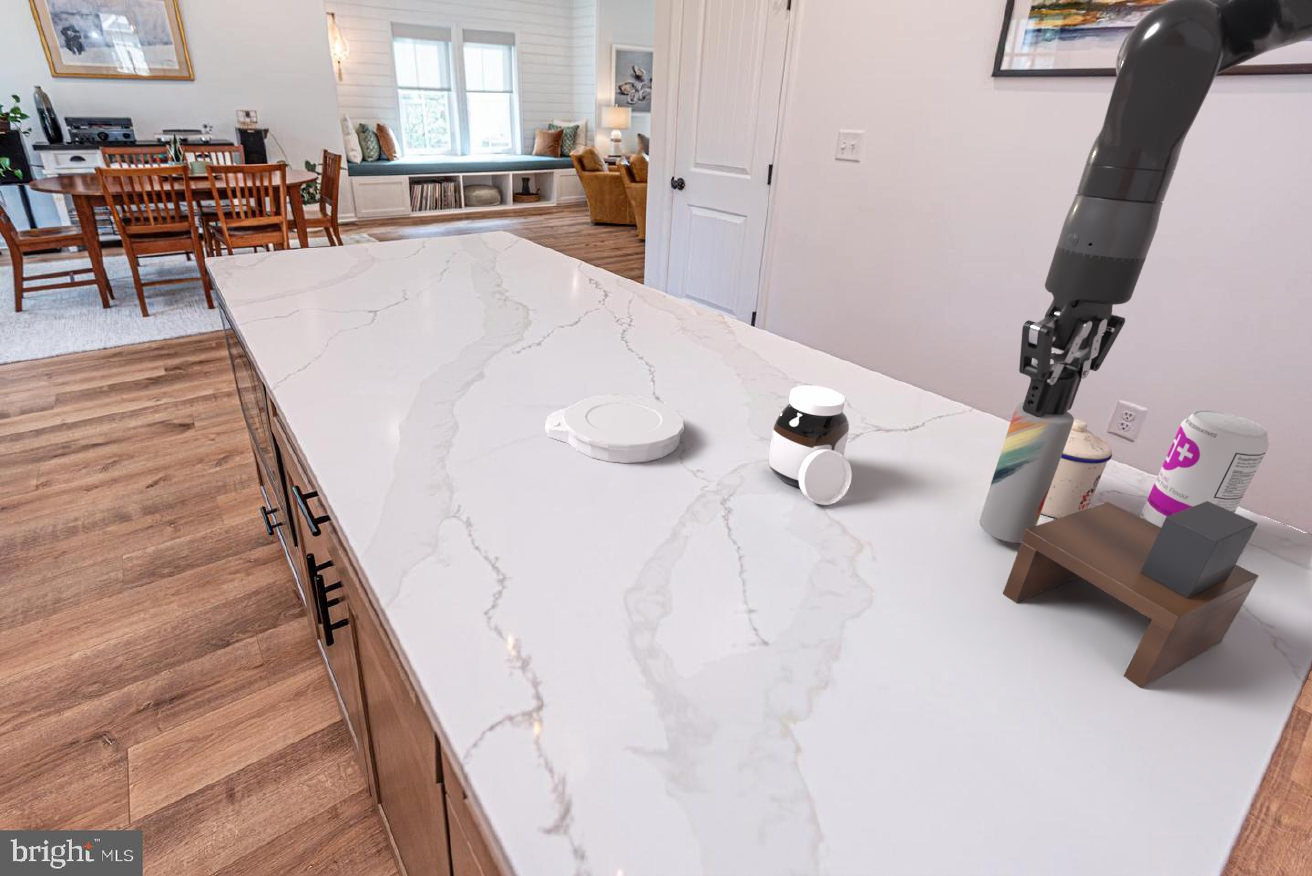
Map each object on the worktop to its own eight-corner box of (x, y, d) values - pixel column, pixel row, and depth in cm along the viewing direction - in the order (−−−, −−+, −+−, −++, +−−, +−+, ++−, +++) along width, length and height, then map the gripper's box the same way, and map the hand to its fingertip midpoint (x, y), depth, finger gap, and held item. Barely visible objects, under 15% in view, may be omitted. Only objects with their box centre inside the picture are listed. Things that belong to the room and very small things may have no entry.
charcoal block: (1180, 554, 64) (1207, 500, 62) (1228, 578, 61) (1258, 523, 59) (1139, 572, 61) (1166, 516, 59) (1187, 599, 58) (1217, 541, 56)
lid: (566, 402, 107) (566, 385, 105) (691, 421, 104) (693, 403, 102) (525, 450, 91) (525, 430, 90) (670, 473, 88) (672, 453, 87)
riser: (1082, 561, 77) (1108, 501, 73) (1221, 642, 66) (1259, 575, 62) (1002, 593, 70) (1026, 529, 67) (1141, 688, 59) (1178, 617, 56)
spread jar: (800, 454, 96) (814, 377, 91) (871, 486, 89) (891, 405, 84) (747, 480, 88) (759, 397, 83) (821, 517, 81) (839, 429, 76)
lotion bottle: (1027, 523, 81) (1084, 364, 72) (1035, 549, 76) (1096, 382, 67) (976, 512, 82) (1026, 356, 74) (980, 536, 77) (1034, 372, 69)
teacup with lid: (1092, 529, 83) (1128, 444, 78) (1011, 509, 86) (1040, 426, 81) (1080, 486, 93) (1110, 409, 88) (1008, 470, 96) (1034, 394, 91)
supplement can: (1146, 540, 82) (1198, 427, 75) (1131, 508, 89) (1178, 402, 82) (1226, 558, 79) (1287, 444, 73) (1204, 524, 86) (1258, 416, 80)
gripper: (1096, 258, 59) (1036, 435, 66) (1182, 252, 65) (1119, 415, 73) (1019, 242, 65) (972, 407, 72) (1105, 238, 71) (1054, 390, 79)
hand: (1046, 410), depth 72 cm, fingers closed on lotion bottle, 4 cm apart
